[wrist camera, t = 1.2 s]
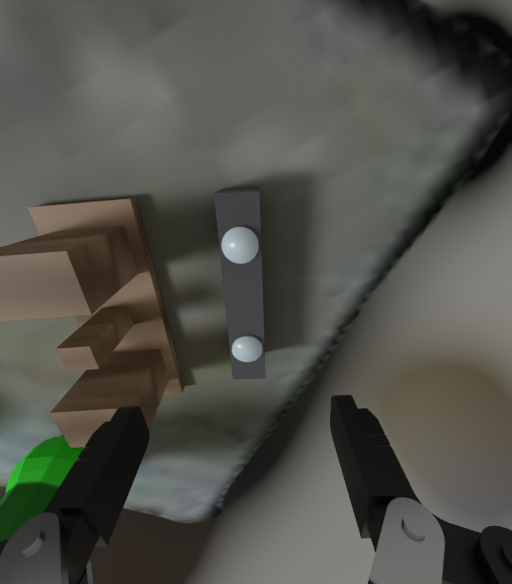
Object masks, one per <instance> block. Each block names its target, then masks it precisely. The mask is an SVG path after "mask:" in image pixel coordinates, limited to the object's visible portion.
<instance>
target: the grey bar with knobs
mask: <svg viewBox="0 0 512 584" xmlns="http://www.w3.org/2000/svg"><path fill="white" fill-rule="evenodd" d="M214 199H215V209H216V219H217V228H218V238H219V248H220V258H221V268H222V277H223V287H224V297H225V307H226V316H227V326H228V336H229V346H230V355H231V365H232V375H233V379H259V378H266V374H265V343H264V311H263V280H262V248H261V217H260V191H259V188H249V189H226V190H219V191H217V192H215V193H214Z"/></svg>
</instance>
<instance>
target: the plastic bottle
mask: <svg viewBox="0 0 512 584" xmlns="http://www.w3.org/2000/svg"><path fill="white" fill-rule="evenodd" d="M82 450H84V447H70V446H69V444H68V442H67V441H66V439H65V437H64V436H59V437H53V438H50V439H48V440H45V441H44V442H42V443H41V444H39V445H38V446H36V447H35V448H34V449H33V450H32V451H31V452H29V453H28V454H27V455H26V456H25V457H24V458H23V459H22V460H21V461H20V462H19V463H18V465H17V466H16V467H15V468H14V470H13V471H12V474H11V476H10V479H9V481H8V484H7V489H6V493H5V496H4V497H3V498H2V500H1V501H0V542H2V541H4V540H7V539H9V538H11V537H12V535H13V534H14V533H15V532H16V531H17V530H18V529H19V528H20V527H21V526H22V525H23V524H25V523H26V522H27V521H29V520H30V519H31V518H33V517H35V516H37V515H39V514H42V512H43V511H44V510H45V508H46V507H47V505H48V504H49V502H50V501H51V499H52V498H53V496H54V494H55V493H56V491H57V490H58V488H59V486H60V485H61V483H62V482H63V480H64V478H65V477H66V475H67V474H68V472H69V471H70V469H71V467H72V466H73V464H74V463H75V461H77V458H78V456H79V455H80V453H81V451H82Z"/></svg>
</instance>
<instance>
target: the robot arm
mask: <svg viewBox="0 0 512 584" xmlns="http://www.w3.org/2000/svg"><path fill="white" fill-rule="evenodd" d="M330 428H331V434H332V438H333V442H334V445H335V449H336V452H337V455H338V459H339V463H340V466H341V470H342V473H343V477H344V480H345V483H346V487H347V490H348V494H349V497H350V501H351V504H352V508H353V511H354V515H355V518H356V522H357V525H358V528H359V532H360V536H361V538H371V540H372V543H373V546H374V550H375V557H374V562H373V565H372V569H371V573H370V577H369V581H368V584H512V531H511V530H509V529H507V528H503V527H500V526H489V527H486V528H485V529H484V530H483V531H482V533H479V532H475V531H473V530H470V529H466V528H463V527H460V526H457V525H454V524H451V523H448V522H446V521H444V520H442V519H440V518H438V517H437V516H435V515H434V514H432V513H431V512H430V511H429V510H428V509H427V508H426V507H424V506H423V504H422V503H421V502H420V501H419V500H418V498H417V497H416V495H415V494H414V492H413V490H412V488H411V486H410V484H409V482H408V479H407V478H406V476H405V473H404V471H403V469H402V468H401V465H400V463H399V461H398V459H397V457H396V455H395V453H394V451H393V449H392V447H390V443H389V441H388V439H387V437H386V436H385V434H384V431H383V429H382V427H381V425H380V423H379V421H378V419H377V418H376V417H375V416H374V415H373V414H372V413H371V412H370V411H369V410H368V409H367V408H363V409H358V408H357V406H356V404H355V402H354V400H353V397H352V396H351V395H337V396H332V398H331V413H330ZM148 442H149V429H148V426H147V424H146V421H145V418H144V415H143V413H142V410H141V408H140V407H139V406H128V407H119V408H118V409H117V410H116V412H115V413H114V415H113V417H112V419H111V420H110V421H108V422H104V423H103V424H102V425H101V426H100V427H99V428H98V429H97V430H96V431H95V432H94V433H93V434H92V436H91V437H90V439H89V440H88V442H87V444H86V445H85V447H84V450H82V451H81V453H80V455H79V456H78V458H77V461H75V463H74V464H73V466H72V467H71V469H70V471H69V472H68V474H67V475H66V477H65V478H64V480H63V482H62V483H61V485H60V486H59V488H58V490H57V491H56V493H55V494H54V496H53V498H52V499H51V501H50V502H49V504H48V505H47V507H46V508H45V510H44V511H43V512H42V514H39V515H37V516H35V517H33V518H31V519H30V520H29V521H27V522H26V523H25V524H23V525H22V526H21V527H20V528H19V529H18V530H17V531H16V532H15V533H14V534H13V535H12V537H11V538H9V539H7V540H4V541H2V542H0V584H93V580H92V572H91V564H90V560H89V559H90V556H91V554H92V552H93V549H94V547H102V546H103V547H104V546H108V544H109V541H110V539H111V536H112V534H113V531H114V529H115V526H116V524H117V521H118V519H119V516H120V514H121V511H122V509H123V506H124V504H125V501H126V499H127V496H128V494H129V491H130V489H131V486H132V484H133V481H134V479H135V476H136V474H137V471H138V469H139V466H140V464H141V461H142V459H143V456H144V454H145V451H146V449H147V446H148Z"/></svg>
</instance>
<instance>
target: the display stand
mask: <svg viewBox="0 0 512 584" xmlns="http://www.w3.org/2000/svg"><path fill="white" fill-rule="evenodd" d="M28 210H29V212H30V214H31V217H32V219H33V221H34V223H35V226H36V228H37V230H38V233H39V235H40V236H38V237H34V238H31V239H27V240H24V241H21V242H17V243H14V244H11V245H7V246H4V247H0V321H9V320H23V319H37V318H51V317H65V316H75V318H76V320H77V323H78V325H79V327H80V328H79V329H78V330H76V331H75V332H74V333H73V334H72V335H71V336H70V337H69V338H67V339H66V340H65V341H64V342H63V343H62V344H61V345H60V346H58V347H57V348H56V350H57V352H58V354H59V356H60V358H61V360H62V362H63V364H64V366H65V368H66V370H67V371H73V370H86V371H85V372H84V374H83V375H82V376H81V377H80V378H79V379H78V381H77V382H76V383H75V384H74V385H73V387H72V388H71V389H70V390H69V391H68V392H67V394H66V395H65V396H64V397H63V398H62V399H61V401H60V402H59V403H58V404H57V405H56V407H55V408H54V409H53V410H52V411H51V412H50V413H51V415H52V417H53V419H54V420H55V422H56V424H57V425H58V427H59V429H60V430H61V432H62V434H63V436H64V437H65V439H66V441H67V442H68V444H69V446H70V447H85V445H86V444H87V442H88V440H89V439H90V437H91V436H92V434H93V433H94V432H95V431H96V430H97V429H98V428H99V427H100V426H101V425H102V424H103V423H104V422H108V421H110V420H111V419H112V417H113V415H114V413H115V412H116V410H117V409H118V408H119V407H128V406H139V407H140V408H141V410H142V413H143V415H144V418H145V421H146V424H147V426H148V429H149V428H150V425H151V423H152V421H153V418H154V416H155V413H156V411H157V408H158V406H159V404H160V401H161V399H162V396H163V395H164V394H181V393H183V390H184V387H185V386H184V382H183V378H182V375H181V371H180V367H179V363H178V359H177V355H176V351H175V348H174V344H173V340H172V336H171V332H170V328H169V324H168V321H167V317H166V313H165V309H164V305H163V301H162V297H161V294H160V290H159V286H158V282H157V278H156V274H155V271H154V267H153V263H152V259H151V255H150V251H149V247H148V244H147V240H146V236H145V232H144V228H143V224H142V220H141V217H140V213H139V209H138V205H137V201H136V198H126V199H114V200H102V201H90V202H78V203H66V204H54V205H43V206H34V207H28Z"/></svg>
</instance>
